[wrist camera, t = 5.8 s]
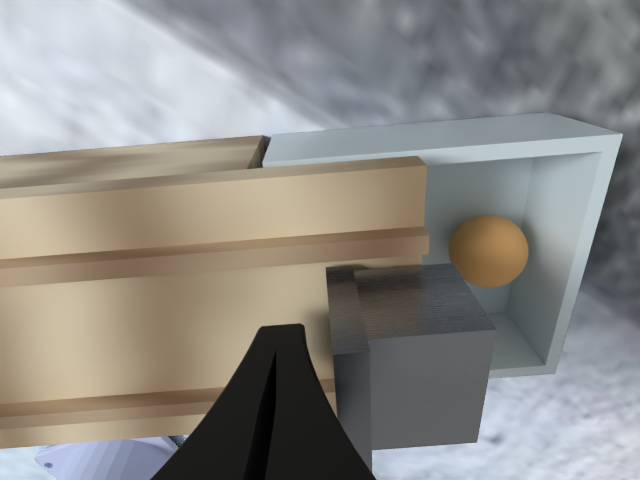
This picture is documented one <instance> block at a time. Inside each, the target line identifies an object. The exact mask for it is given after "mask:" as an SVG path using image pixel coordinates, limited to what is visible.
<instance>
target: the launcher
mask: <svg viewBox="0 0 640 480" xmlns="http://www.w3.org/2000/svg"><path fill="white" fill-rule="evenodd" d="M264 157H265V149H264V141H263V135H261V136H249V137H236V138H224V139H211V140H199V141H186V142H174V143H161V144H149V145H136V146H124V147H111V148H99V149H87V150H74V151H62V152H49V153H37V154H24V155H12V156H0V449H3V448H17V447H30V446H43V445H57V444H70V443H83V442H96V441H110V440H123V439H136V438H150V437H163V436H176V435H189V434H191V433H192V432H193V430H194V429H195V428H196V427H197V425H198V424H199V423H200V422H201V420H202V419H203V418H204V416H205V415H206V414H207V412H208V411H209V410H210V408H211V407H212V406H213V404H214V403H215V401H216V400H217V398H218V397H219V395H220V394H221V393H222V391H223V390H224V388H225V387H226V385H227V384H228V382H229V381H230V379H231V377H232V376H233V374H234V372H235V371H236V369H237V368H238V366H239V364H240V363H241V361H242V359H243V358H244V356H245V354H246V352H247V350H248V349H249V347H250V345H251V343H252V341H253V339H254V337H255V335H256V333H257V331H258V329H259V328H260V327H261V326H271V325H284V324H296V323H301V324H302V325H304V326H305V333H306V341H307V347H308V351H309V354H310V358H311V361H312V364H313V366H314V369H315V371H316V374H317V377H318V379H319V382H320V384H321V386H322V389H323V391H324V393H325V395H326V397H327V399H328V401H329V403H330V405H331V407H332V409H333V411H334V413H335V415H336V417H337V409H336V397H335V384H334V372H333V359H332V346H331V333H330V320H329V307H328V294H327V281H326V268H325V267H334V266H346V265H352V266H353V271H356V270H369V269H382V268H395V267H408V266H420V265H422V255H426V254H429V240H430V235H429V233H428V232H427V230H426V229H425V227H424V215H425V198H426V180H427V165H426V164H425V163H424V161H423V160H422V159H421V158H420V157H419V156H407V157H394V158H382V159H369V160H356V161H344V162H331V163H319V164H306V165H294V166H281V167H269V168H263V164H262V162H263V159H264Z"/></svg>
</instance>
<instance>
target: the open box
mask: <svg viewBox="0 0 640 480" xmlns="http://www.w3.org/2000/svg"><path fill="white" fill-rule="evenodd" d="M622 136H623V134H622V133H619V132H615V131H612V130H608V129H605V128H601V127H598V126H594V125H591V124H588V123H584V122H581V121H577V120H574V119H570V118H567V117H563V116H560V115H556V114H553V113H537V114H524V115H512V116H499V117H487V118H474V119H462V120H449V121H437V122H424V123H412V124H399V125H387V126H374V127H362V128H349V129H337V130H324V131H312V132H300V133H287V134H275V135H272V138H271V140H270V143H269V146H268V148H267V151H266V154H265V157H264V159H263V162H262V164H263V168H269V167H281V166H294V165H306V164H319V163H331V162H344V161H356V160H369V159H382V158H394V157H407V156H419V157H420V158H421V159H422V160H423V161H424V163H425V164H426V165H427V180H426V198H425V215H424V227H425V229H426V230H427V232H428V233H429V235H430V240H429V254H426V255H422V265H433V264H446V263H451V261H450V257H449V244H450V240H451V238H452V235H453V233H454V232H455V230H456V229H457V228H458V227H459V226H460V225H461V224H462V223H463V222H465V221H466V220H468V219H470V218H472V217H475V216H479V215H486V214H490V215H497V216H501V217H504V218H507V219H508V220H510V221H512V222H513V223H514V224H516V225H517V226H518V227H519V228H520V229H521V231H522V232H523V234H524V236H525V238H526V240H527V244H528V259H527V263H526V265H525V267H524V269H523V271H522V272H521V273H520V274H519V275H518V276H517V277H516V278H515V279H514V280H513V281H511V282H509V283H507V284H505V285H502V286H499V287H491V288H489V287H480V286H476V285H473V284H471V283H469V282H467V281H466V280H464V281H465V282H466V284H467V285H468V287H469V288H470V290H471V291H472V293H473V294H474V296H475V297H476V299H477V300H478V302H479V303H480V305H481V306H482V308H483V309H484V311H485V312H486V314H487V315H488V317H489V318H490V320H491V322H492V323H493V325H494V326H495V328H496V329H497V332H496V338H495V343H494V349H493V355H492V360H491V366H490V372H489V377H488V379H489V378H502V377H515V376H529V375H542V374H555V372H556V368H557V365H558V361H559V358H560V354H561V351H562V347H563V344H564V340H565V337H566V333H567V330H568V326H569V322H570V319H571V315H572V312H573V308H574V305H575V301H576V298H577V294H578V291H579V287H580V284H581V280H582V277H583V273H584V270H585V266H586V263H587V259H588V256H589V252H590V249H591V245H592V242H593V238H594V235H595V231H596V228H597V224H598V221H599V217H600V214H601V210H602V206H603V203H604V199H605V196H606V192H607V189H608V185H609V182H610V178H611V175H612V171H613V168H614V164H615V161H616V157H617V154H618V150H619V147H620V143H621V140H622Z"/></svg>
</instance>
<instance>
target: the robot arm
mask: <svg viewBox="0 0 640 480" xmlns="http://www.w3.org/2000/svg"><path fill="white" fill-rule="evenodd" d="M34 459H35V462H36V463H38V464H39V465H40V466H41V467H43V468H44V469H45V470H47V471H48V472H49V473H51V474H52V475H53V476H54V477H56V478H57V480H376V479H375V477H374V476H373V474H372V473H371V471H370V470H369V468H368V467H367V465H366V464H365V462H364V461H363V459H362V458H361V456H360V455H359V454H358V452H357V451H356V449H355V448H354V446H353V444H352V443H351V441H350V439H349V438H348V436H347V434H346V433H345V431H344V429H343V428H342V426H341V424H340V422H339V420H338V419H337V417H336V415H335V413H334V411H333V409H332V407H331V405H330V403H329V401H328V399H327V397H326V395H325V393H324V391H323V389H322V386H321V384H320V382H319V379H318V377H317V374H316V371H315V369H314V366H313V364H312V361H311V358H310V354H309V351H308V347H307V341H306V333H305V326H304V325H302V324H301V323H296V324H284V325H271V326H261V327H260V328H259V329H258V331H257V333H256V335H255V337H254V339H253V341H252V343H251V345H250V347H249V349H248V350H247V352H246V354H245V356H244V358H243V359H242V361H241V363H240V364H239V366H238V368H237V369H236V371H235V372H234V374H233V376H232V377H231V379H230V381H229V382H228V384H227V385H226V387H225V388H224V390H223V391H222V393H221V394H220V395H219V397H218V398H217V400H216V401H215V403H214V404H213V406H212V407H211V408H210V410H209V411H208V412H207V414H206V415H205V416H204V418H203V419H202V420H201V422H200V423H199V424H198V425H197V427H196V428H195V429H194V430H193V432H192V433H191V434H190V435H189V437H188V438H187V439H186V440H185V441H184V443H183V444H182V445H181V446H180V447H178V446H177V445H176V444H175V443H174V442H173V441H172V440H171V439H170V438H169V437H168V436H163V437H150V438H136V439H123V440H110V441H96V442H83V443H70V444H57V445H54V446H51V447H49V448H46V449H43V450H40V451H39V452H38V453H37V454H36V456H35V458H34Z"/></svg>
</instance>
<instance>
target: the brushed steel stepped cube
mask: <svg viewBox="0 0 640 480" xmlns="http://www.w3.org/2000/svg"><path fill="white" fill-rule="evenodd" d="M325 268H326V281H327V294H328V307H329V320H330V333H331V346H332V359H333V372H334V384H335V397H336V409H337V419H338V420H339V422H340V424H341V426H342V428H343V429H344V431H345V433H346V434H347V436H348V438H349V439H350V441H351V443H352V444H353V446H354V448H355V449H356V451H357V452H358V454H359V455H360V456H361V458H362V459H363V461H364V462H365V464H366V465H367V467H368V468H369V470H370V471H371V473H372V450H382V449H395V448H409V447H422V446H436V445H449V444H462V443H476V442H477V439H478V434H479V428H480V422H481V417H482V411H483V405H484V400H485V394H486V388H487V383H488V377H489V372H490V366H491V360H492V355H493V349H494V343H495V338H496V332H497V329H496V328H495V326H494V325H493V323H492V322H491V320H490V318H489V317H488V315H487V314H486V312H485V311H484V309H483V308H482V306H481V305H480V303H479V302H478V300H477V299H476V297H475V296H474V294H473V293H472V291H471V290H470V288H469V287H468V285H467V284H466V282H465V281H464V279H463V278H462V276H461V275H460V273H459V272H458V270H457V269H456V267H455V266H454V264H453V263H446V264H433V265H420V266H408V267H395V268H382V269H369V270H356V271H353V266H352V265H346V266H334V267H325Z"/></svg>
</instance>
